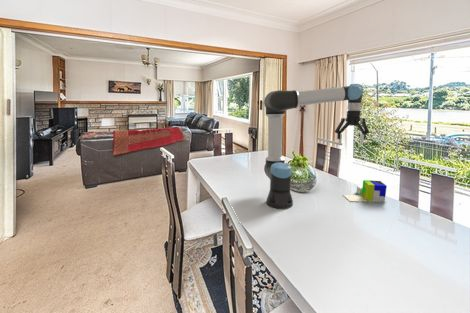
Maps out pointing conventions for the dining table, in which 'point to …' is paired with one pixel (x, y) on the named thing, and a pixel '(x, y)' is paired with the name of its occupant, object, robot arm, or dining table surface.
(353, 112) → the robot arm
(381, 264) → the dining table surface
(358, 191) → the die
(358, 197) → the board
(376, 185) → the puzzle toy
